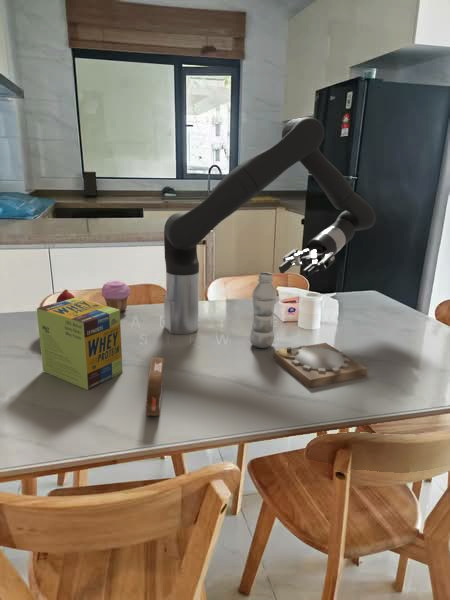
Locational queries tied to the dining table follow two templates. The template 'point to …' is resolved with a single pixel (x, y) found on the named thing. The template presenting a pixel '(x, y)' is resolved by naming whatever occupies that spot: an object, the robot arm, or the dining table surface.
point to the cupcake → (116, 294)
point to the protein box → (80, 341)
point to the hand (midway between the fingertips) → (292, 272)
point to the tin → (155, 387)
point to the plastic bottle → (263, 311)
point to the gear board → (318, 364)
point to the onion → (64, 296)
